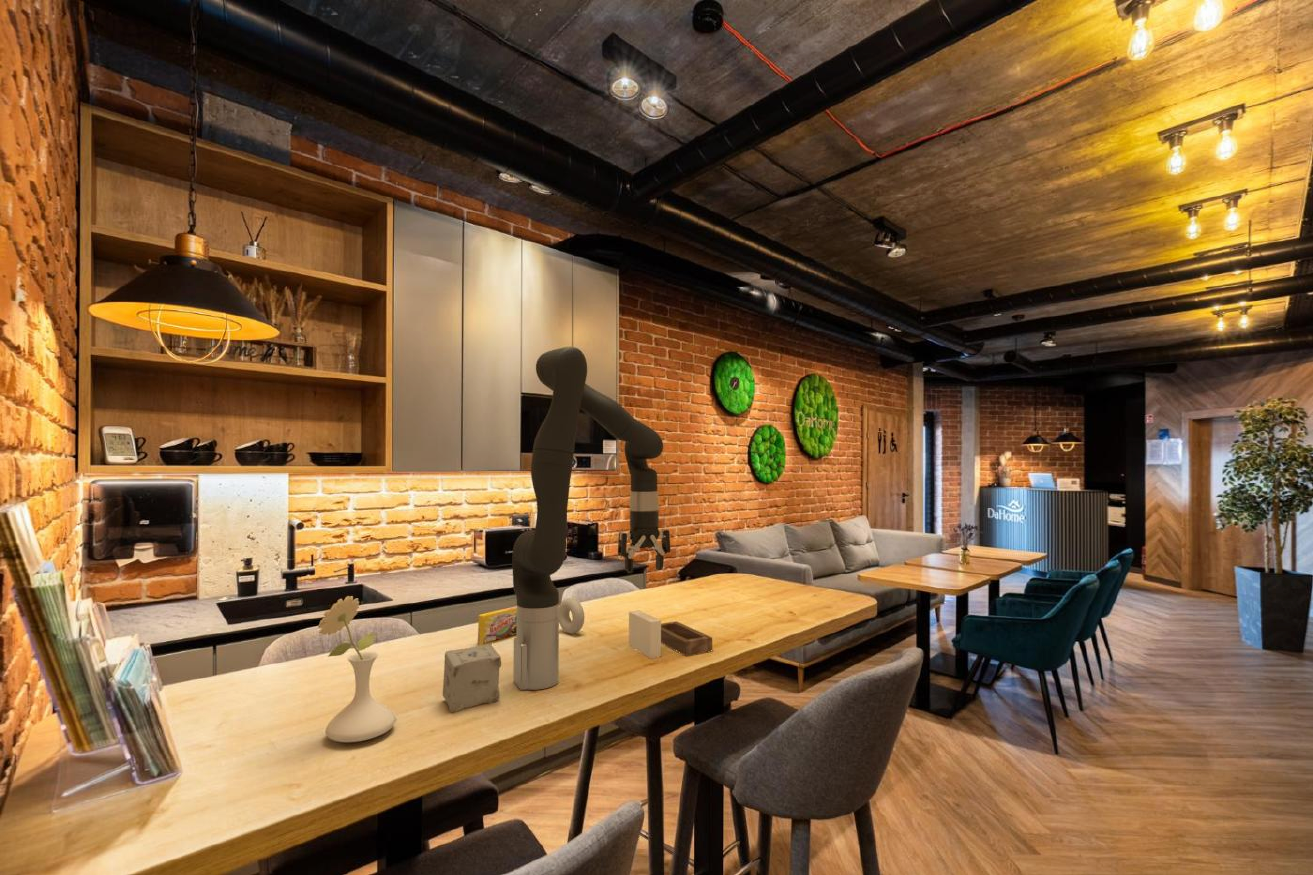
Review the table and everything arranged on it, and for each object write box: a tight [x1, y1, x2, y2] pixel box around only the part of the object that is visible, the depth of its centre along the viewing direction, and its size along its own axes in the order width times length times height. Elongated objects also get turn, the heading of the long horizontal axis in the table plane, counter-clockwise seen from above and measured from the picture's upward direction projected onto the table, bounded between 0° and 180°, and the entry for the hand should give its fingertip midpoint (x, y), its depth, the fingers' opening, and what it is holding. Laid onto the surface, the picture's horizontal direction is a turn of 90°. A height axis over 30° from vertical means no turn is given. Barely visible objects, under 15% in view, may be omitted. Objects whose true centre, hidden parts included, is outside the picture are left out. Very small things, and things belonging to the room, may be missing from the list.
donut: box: [559, 597, 585, 635], centre depth 168 cm, size 10×4×10 cm, turn 47°
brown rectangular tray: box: [661, 621, 713, 657], centre depth 158 cm, size 8×18×4 cm, turn 29°
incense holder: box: [442, 644, 502, 714], centre depth 120 cm, size 10×8×10 cm
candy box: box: [476, 605, 517, 646], centre depth 163 cm, size 16×2×8 cm, turn 143°
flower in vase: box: [317, 595, 397, 743], centre depth 106 cm, size 13×11×25 cm
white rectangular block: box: [628, 609, 662, 659], centre depth 153 cm, size 3×12×9 cm, turn 29°
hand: (644, 571), depth 154 cm, fingers open, 8 cm apart
